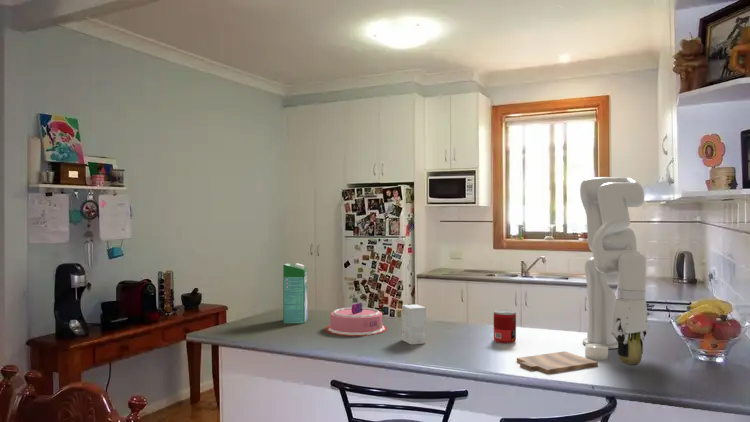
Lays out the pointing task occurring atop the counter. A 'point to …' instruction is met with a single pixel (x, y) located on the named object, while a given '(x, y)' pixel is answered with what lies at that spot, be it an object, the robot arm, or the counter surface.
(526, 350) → the counter surface
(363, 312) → the cake
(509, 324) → the canned food
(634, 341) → the fennel bulb
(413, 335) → the small box
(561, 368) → the board
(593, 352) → the white rounded block
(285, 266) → the milk carton
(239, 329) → the counter surface
